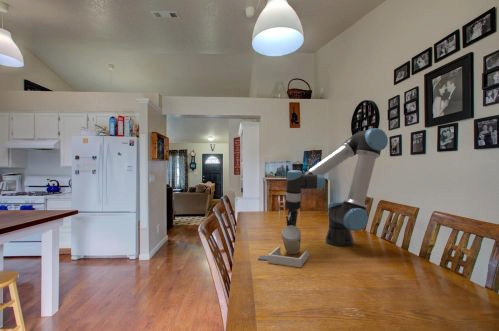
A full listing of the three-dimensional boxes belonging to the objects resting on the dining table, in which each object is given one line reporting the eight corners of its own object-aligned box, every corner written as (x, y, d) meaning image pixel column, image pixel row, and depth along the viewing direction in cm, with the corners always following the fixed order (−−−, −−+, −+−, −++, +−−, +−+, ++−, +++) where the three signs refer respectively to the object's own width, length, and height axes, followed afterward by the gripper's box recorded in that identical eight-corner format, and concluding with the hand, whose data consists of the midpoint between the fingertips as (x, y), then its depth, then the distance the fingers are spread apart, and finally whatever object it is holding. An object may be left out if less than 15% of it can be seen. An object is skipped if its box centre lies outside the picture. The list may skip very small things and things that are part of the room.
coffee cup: (305, 252, 135) (303, 236, 128) (287, 258, 134) (285, 242, 127) (297, 238, 143) (296, 222, 136) (280, 243, 142) (278, 228, 135)
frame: (308, 257, 131) (308, 249, 131) (300, 267, 117) (300, 259, 117) (278, 253, 137) (278, 246, 137) (267, 262, 123) (267, 255, 123)
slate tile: (270, 258, 131) (270, 256, 131) (268, 262, 126) (268, 259, 126) (260, 257, 132) (260, 255, 132) (258, 261, 127) (258, 258, 127)
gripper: (289, 197, 147) (287, 239, 150) (282, 201, 136) (279, 247, 139) (303, 199, 144) (300, 242, 147) (296, 204, 133) (294, 250, 135)
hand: (290, 244), depth 143 cm, fingers closed
